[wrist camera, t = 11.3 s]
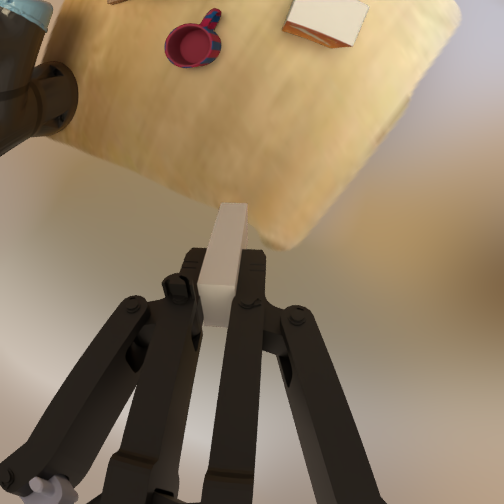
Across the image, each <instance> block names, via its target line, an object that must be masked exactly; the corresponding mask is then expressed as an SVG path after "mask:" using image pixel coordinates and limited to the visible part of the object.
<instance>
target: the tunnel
mask: <svg viewBox="0 0 504 504" xmlns="http://www.w3.org/2000/svg"><path fill="white" fill-rule="evenodd" d="M124 1H127V0H107V4H112V5H113V4H117V3H120V2H124Z"/></svg>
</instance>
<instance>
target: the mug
mask: <svg viewBox="0 0 504 504" xmlns="http://www.w3.org/2000/svg"><path fill="white" fill-rule="evenodd" d="M220 17H221V11H220V10H219V9H216V8H213V9H211V10H210V11H209V12H208V13H207V14H206V16H205V17H204V19H203V20H202V22H201V24H192V23H189V24H184V25H181V26H179V27H177V28H175V29H174V30H173V31H172V32H171V33H170V34H169V35H168V37H167V39H166V42H165V53H166V56H167V58H168V59H169V61H170V62H171V63H173V64H174V65H176V66H178V67H182V68H192V67H198V66H204V65H207V64H209V63H211V62H213V61H214V60H215V59H216V58H217V56H218V55H219V53H220V50H221V41H220V38H219V36H218V35H217V34H216V33H215V32H214V31H213V30H214V28H215V27H216V25H217V23H218V21H219V19H220ZM210 21H211V22H210Z"/></svg>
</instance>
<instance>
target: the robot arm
mask: <svg viewBox="0 0 504 504" xmlns="http://www.w3.org/2000/svg"><path fill="white" fill-rule="evenodd" d="M52 13H53V7H52V5H51V4H50V3H49V2H46V1H42V0H0V156H2V155H3V154H5V153H6V152H8V151H9V150H11V149H12V148H14V147H15V146H17V145H18V144H20V143H22V142H24V141H25V140H26V139H28V138H30V137H40V136H49V135H52V134H55V133H56V132H58V131H60V130H62V129H63V128H65V127H66V126H67V125H68V123H69V122H70V121H71V119H72V117H73V115H74V113H75V110H76V107H77V101H78V89H77V83H76V80H75V77H74V75H73V73H72V72H71V71H70V69H69V68H68V67H67V66H65V65H64V64H62V63H60V62H47V63H43V64H40V65H38V66H36V67H34V66H35V62H36V59H37V56H38V53H39V50H40V46H41V44H42V41H43V38H44V35H45V33H47V31H48V28H47V27H48V24H49V21H50V19H51V16H52ZM247 236H248V233H247V203H221V205H220V208H219V211H218V215H217V218H216V221H215V224H214V228H213V231H212V234H211V237H210V241H209V244H208V247H207V248H192V249H191V250H190V251H189V252H188V253H187V254H186V256H185V259H184V262H183V264H182V268H181V270H180V272H179V273H174V274H172V275H169V276H167V277H166V278H165V279H164V280H163V282H162V286H163V290H164V293H165V298H163V299H160V300H156V301H150V302H147V301H146V299H145V298H143V297H141V296H137V295H135V296H130V297H128V298H126V299H124V300H123V301H122V302H121V303H120V305H119V306H118V307H117V309H116V310H115V311H114V312H113V314H112V315H111V316H110V318H109V319H108V320H107V322H106V323H105V324H104V326H103V327H102V329H101V330H100V331H99V333H98V334H97V335H96V337H95V338H94V339H93V341H92V342H91V344H90V345H89V346H88V348H87V349H86V351H85V352H84V354H83V355H82V356H81V358H80V359H79V361H78V362H77V363H76V365H75V366H74V368H73V370H72V371H71V372H70V374H69V375H68V377H67V378H66V380H65V381H64V383H63V384H62V386H61V387H60V389H59V390H58V392H57V393H56V395H55V396H54V398H53V400H52V401H51V403H50V404H49V406H48V407H47V409H46V411H45V412H44V414H43V416H42V417H41V419H40V420H39V422H38V424H37V425H36V427H35V429H34V431H33V432H32V434H31V436H30V437H29V439H28V441H27V442H26V443H25V444H23V445H22V446H21V447H20V448H19V449H17V450H16V451H15V452H14V453H13V454H11V455H10V456H9V457H7V458H6V459H5V460H4V461H2V462H1V463H0V485H1V487H2V488H3V489H4V490H5V491H7V492H9V493H12V494H15V495H18V496H20V497H21V499H22V500H23V502H24V504H74V502H76V501H77V500H78V494H77V492H76V491H75V490H74V488H75V487H76V486H77V485H78V484H79V483H80V482H81V481H82V479H83V478H84V477H85V476H86V474H87V472H88V471H89V469H90V468H91V466H92V463H93V462H94V460H95V458H96V456H97V455H98V453H99V451H100V449H101V447H102V445H103V444H104V442H105V440H106V438H107V436H108V435H109V433H110V431H111V429H112V427H113V426H114V424H115V422H116V420H117V419H118V417H119V415H120V413H121V411H122V410H123V408H124V406H125V404H126V403H127V401H128V399H129V397H130V396H131V394H132V392H133V390H134V389H135V387H136V390H135V393H134V397H133V400H132V404H131V408H130V412H129V415H128V419H127V423H126V426H125V430H124V434H123V438H122V442H121V446H120V449H119V450H118V451H117V452H116V453H114V454H113V455H112V457H111V458H110V461H109V464H108V468H107V472H106V477H105V482H104V487H103V492H102V493H101V494H100V495H98V496H97V497H95V498H94V499H93V500H91V501H90V502H88V503H87V504H252V498H253V485H254V468H255V455H256V441H257V426H258V410H259V393H260V377H261V358H262V350H263V351H266V352H269V353H272V354H275V355H276V357H277V360H278V364H279V368H280V371H281V375H282V379H283V382H284V386H285V389H286V393H287V397H288V400H289V404H290V408H291V411H292V415H293V419H294V422H295V426H296V429H297V433H298V436H299V440H300V444H301V448H302V451H303V455H304V458H305V462H306V466H307V469H308V473H309V476H310V480H311V483H312V487H313V491H314V494H315V498H316V502H317V504H387V503H386V502H385V501H384V500H383V499H382V498H381V497H380V493H379V491H378V487H377V484H376V481H375V478H374V475H373V472H372V470H371V467H370V464H369V461H368V458H367V455H366V452H365V449H364V447H363V444H362V441H361V438H360V435H359V433H358V430H357V427H356V424H355V422H354V419H353V416H352V413H351V411H350V408H349V405H348V403H347V400H346V397H345V395H344V392H343V390H342V387H341V384H340V382H339V379H338V377H337V374H336V371H335V369H334V366H333V363H332V361H331V358H330V356H329V353H328V351H327V348H326V346H325V343H324V341H323V338H322V336H321V333H320V331H319V328H318V326H317V323H316V321H315V318H314V316H313V314H312V313H311V311H310V310H308V309H307V308H306V307H303V306H299V305H292V306H290V307H287V308H286V309H280V308H277V307H275V306H273V305H271V304H270V303H269V302H268V301H267V299H266V297H265V275H266V256H265V254H264V252H263V250H251V249H247V242H248V238H247ZM203 320H204V325H205V326H213V327H226V328H228V331H227V338H226V344H225V351H224V358H223V366H222V372H221V379H220V386H219V393H218V400H217V407H216V415H215V422H214V429H213V436H212V444H211V451H210V459H209V466H208V470H207V472H206V474H205V478H204V483H203V489H202V498H201V502H200V503H186V502H183V501H181V500H179V499H177V496H178V490H179V475H178V468H179V462H180V456H181V450H182V444H183V438H184V432H185V426H186V421H187V415H188V409H189V404H190V399H191V393H192V387H193V383H194V377H195V372H196V367H197V362H198V357H199V352H200V347H201V342H202V337H203V332H202V324H203ZM136 385H137V386H136Z"/></svg>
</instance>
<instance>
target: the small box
mask: <svg viewBox="0 0 504 504" xmlns="http://www.w3.org/2000/svg"><path fill="white" fill-rule="evenodd" d="M369 8H370V7H369V6H368V5H367V4H365V3H363V2H361V1H359V0H293V2H292V4H291V7H290V9H289V12H288V14H287V17H286V20H285V22H284V25H283V28H282V31H284V32H288V33H291V34H295V35H298V36H300V37H303V38H306V39H309V40H312V41H314V42H317V43H319V44H322V45H324V46H326V47H329V48H339V47H353V45H354V43H355V41H356V38H357V36H358V34H359V31H360V29H361V27H362V24H363V22H364V20H365V17H366V15H367V13H368V10H369Z"/></svg>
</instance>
